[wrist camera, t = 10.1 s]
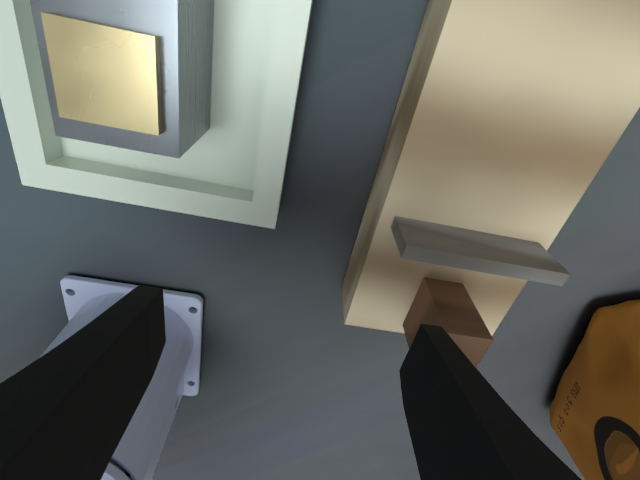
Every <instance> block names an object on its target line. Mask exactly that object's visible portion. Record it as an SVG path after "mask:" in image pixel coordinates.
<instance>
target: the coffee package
mask: <svg viewBox="0 0 640 480" xmlns="http://www.w3.org/2000/svg"><path fill="white" fill-rule="evenodd" d="M550 422H551V426H552V427H553V429H554V431H555V432H556V434H557V435H558V437H559V438H560V440H561V441H562V443H563V444H564V446H565V447H566V449H567V451H568V452H569V454H570V456H571V458H572V459H573V461H574V462H575V464H576V466H577V467H578V469H579V470H580V472H581V474H582V475H583V477H584V478H585V480H640V300H630V301H625V302H623V303H620V304H616V305H611V306H605V307H601V308H599V309H597V310H596V311H595V312H594V314H593V316H592V318H591V321H590V323H589V326H588V328H587V331H586V333H585V335H584V338H583V340H582V342H581V343H580V344H579V346H578V348H577V351H576V353H575V355H574V357H573V359H572V360H571V362H570V364H569V366H568V367H567V368H566V370H565V371H564V373H563V376H562V378H561V380H560V383H559V385H558V388H557V392H556V395H555V398H554V400H553V401H552V402H551V405H550Z"/></svg>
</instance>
